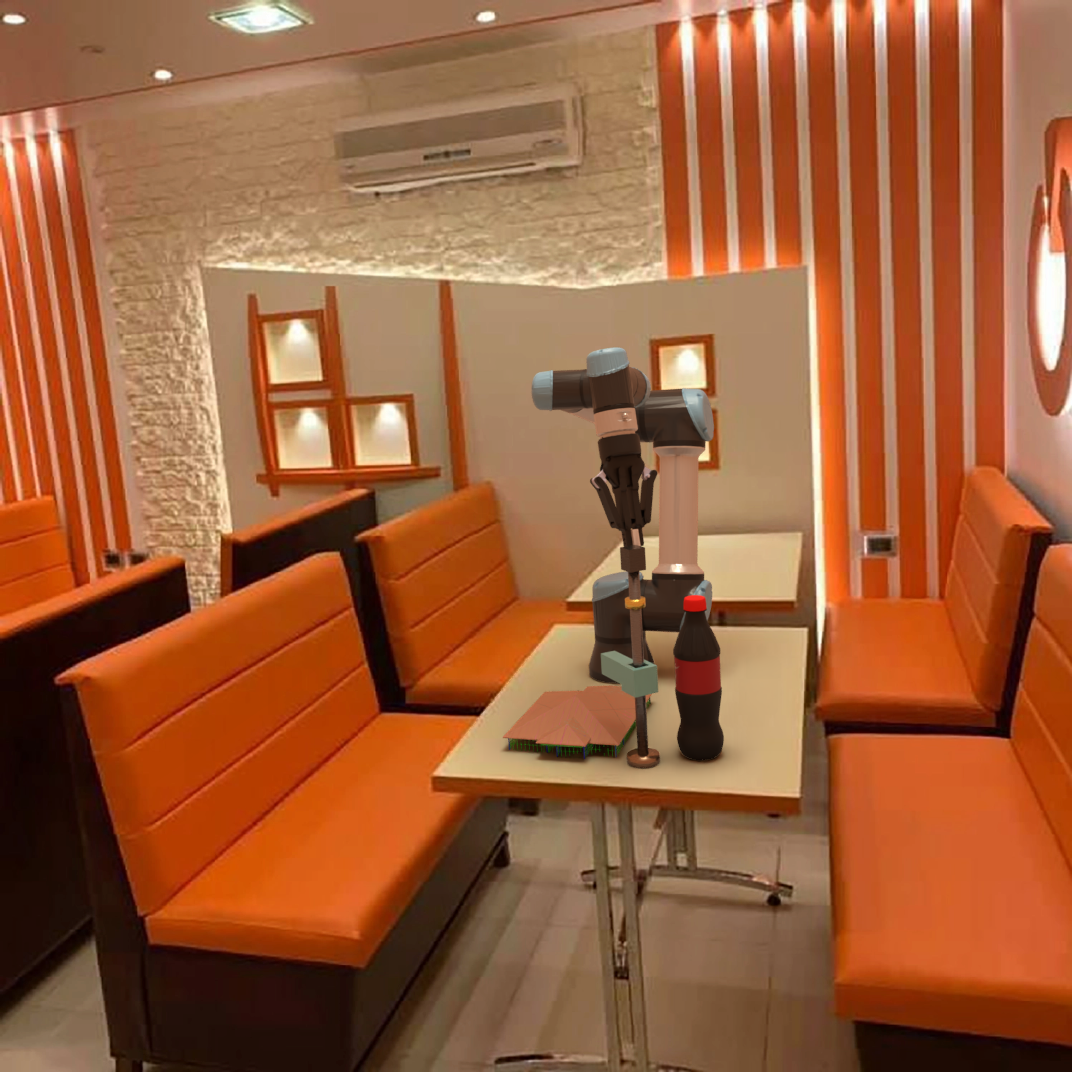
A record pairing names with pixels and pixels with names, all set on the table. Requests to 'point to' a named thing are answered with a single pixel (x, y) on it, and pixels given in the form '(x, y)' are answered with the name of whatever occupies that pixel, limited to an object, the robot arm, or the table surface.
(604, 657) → the teal block with hole
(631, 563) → the post stand
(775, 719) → the table surface
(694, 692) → the cola bottle
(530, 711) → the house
